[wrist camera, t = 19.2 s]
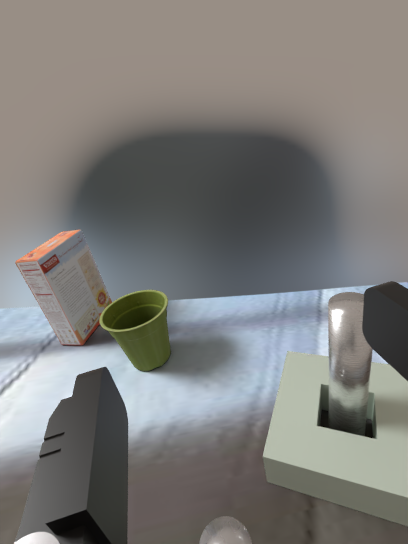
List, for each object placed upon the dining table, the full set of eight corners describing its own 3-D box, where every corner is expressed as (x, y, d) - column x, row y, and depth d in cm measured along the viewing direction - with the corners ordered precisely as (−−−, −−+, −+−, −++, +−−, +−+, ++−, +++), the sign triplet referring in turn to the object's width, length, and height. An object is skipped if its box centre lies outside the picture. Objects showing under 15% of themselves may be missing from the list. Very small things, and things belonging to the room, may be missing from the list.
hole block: (439, 536, 28) (448, 509, 26) (267, 481, 35) (262, 456, 33) (412, 395, 41) (417, 368, 38) (289, 375, 48) (287, 351, 45)
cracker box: (94, 307, 78) (60, 230, 68) (115, 307, 76) (83, 228, 66) (59, 346, 66) (12, 260, 56) (82, 347, 64) (38, 258, 54)
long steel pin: (365, 456, 35) (377, 319, 26) (327, 447, 37) (327, 315, 28) (364, 425, 39) (374, 293, 29) (329, 418, 40) (329, 291, 31)
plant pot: (184, 331, 62) (171, 284, 57) (179, 377, 52) (162, 325, 46) (128, 339, 63) (110, 294, 58) (112, 386, 53) (88, 336, 48)
